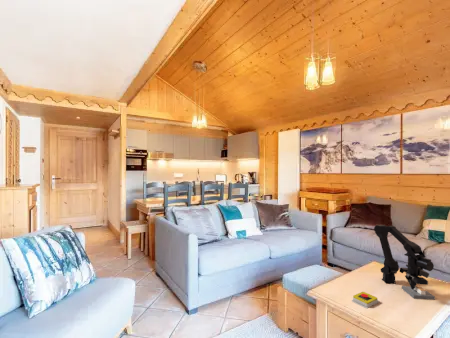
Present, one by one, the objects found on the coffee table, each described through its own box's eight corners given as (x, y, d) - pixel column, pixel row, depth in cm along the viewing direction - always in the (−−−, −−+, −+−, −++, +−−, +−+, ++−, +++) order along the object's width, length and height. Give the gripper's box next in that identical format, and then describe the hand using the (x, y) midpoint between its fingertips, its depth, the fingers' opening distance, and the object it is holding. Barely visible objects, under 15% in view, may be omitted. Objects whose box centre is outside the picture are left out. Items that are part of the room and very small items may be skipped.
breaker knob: (421, 294, 153) (421, 289, 153) (410, 286, 163) (410, 282, 163) (425, 294, 153) (425, 290, 153) (414, 287, 163) (414, 282, 163)
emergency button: (350, 294, 148) (364, 288, 156) (350, 301, 149) (364, 295, 156) (366, 301, 141) (380, 295, 149) (366, 309, 141) (380, 302, 149)
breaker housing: (413, 298, 153) (413, 295, 153) (401, 288, 165) (401, 285, 165) (434, 299, 152) (434, 296, 152) (421, 290, 163) (421, 287, 163)
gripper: (437, 271, 148) (437, 297, 148) (417, 259, 167) (416, 283, 167) (417, 270, 149) (417, 296, 149) (399, 259, 168) (398, 282, 168)
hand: (412, 289), depth 158 cm, fingers closed
